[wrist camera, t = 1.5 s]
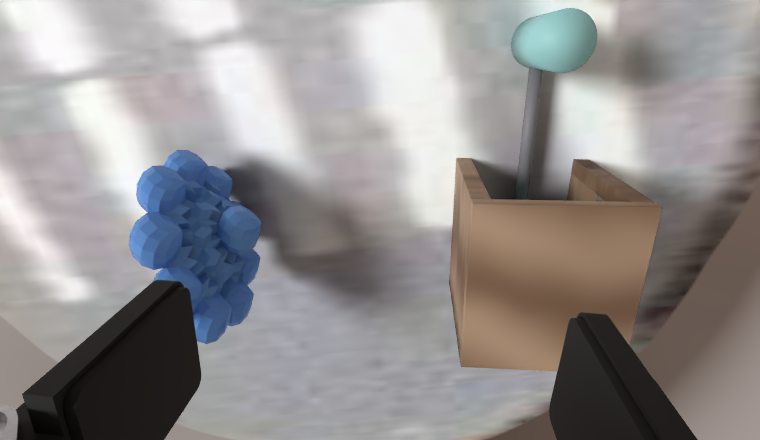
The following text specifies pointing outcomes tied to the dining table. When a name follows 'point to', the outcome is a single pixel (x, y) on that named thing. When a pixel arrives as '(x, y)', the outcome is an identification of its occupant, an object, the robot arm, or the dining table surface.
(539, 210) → the open wooden box
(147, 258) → the grapes
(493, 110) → the dining table surface
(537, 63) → the teal blocks with rod
